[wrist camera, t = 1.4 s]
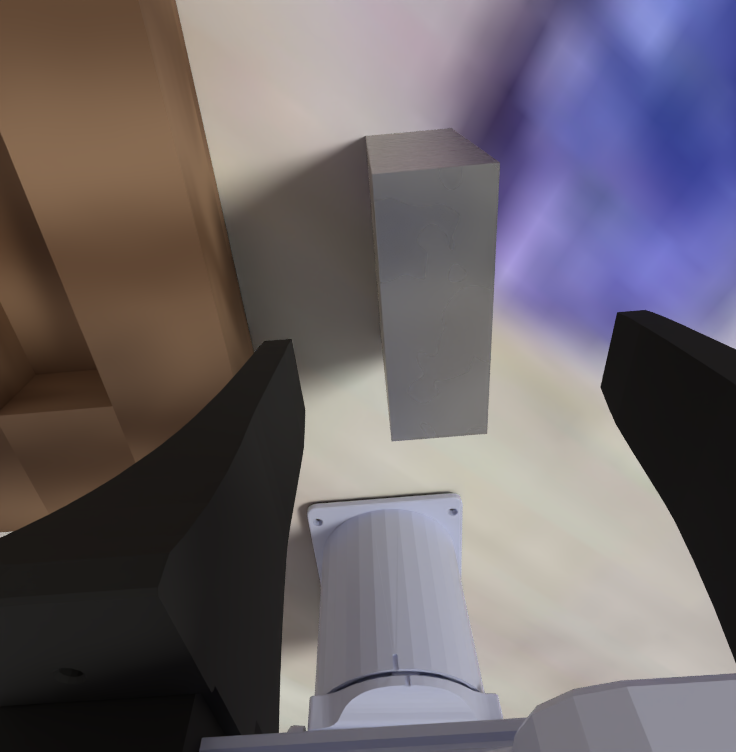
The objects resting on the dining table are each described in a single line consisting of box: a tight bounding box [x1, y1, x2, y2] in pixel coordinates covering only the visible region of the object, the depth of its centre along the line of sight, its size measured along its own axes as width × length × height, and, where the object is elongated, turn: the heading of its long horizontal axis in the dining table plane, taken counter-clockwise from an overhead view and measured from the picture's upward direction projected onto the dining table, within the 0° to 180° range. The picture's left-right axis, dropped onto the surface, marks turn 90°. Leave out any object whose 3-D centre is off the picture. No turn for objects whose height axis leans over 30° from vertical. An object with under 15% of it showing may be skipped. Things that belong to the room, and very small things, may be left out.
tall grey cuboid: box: [365, 128, 500, 441], centre depth 17 cm, size 8×3×7 cm, turn 5°
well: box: [0, 0, 254, 532], centre depth 18 cm, size 22×14×4 cm, turn 5°
